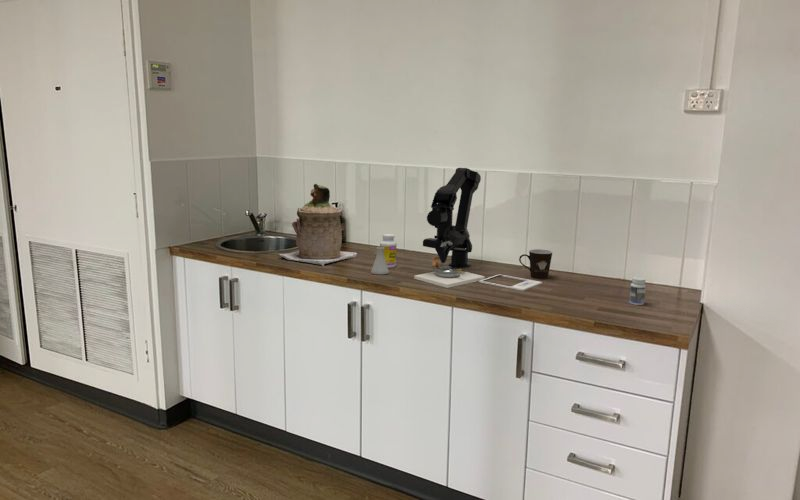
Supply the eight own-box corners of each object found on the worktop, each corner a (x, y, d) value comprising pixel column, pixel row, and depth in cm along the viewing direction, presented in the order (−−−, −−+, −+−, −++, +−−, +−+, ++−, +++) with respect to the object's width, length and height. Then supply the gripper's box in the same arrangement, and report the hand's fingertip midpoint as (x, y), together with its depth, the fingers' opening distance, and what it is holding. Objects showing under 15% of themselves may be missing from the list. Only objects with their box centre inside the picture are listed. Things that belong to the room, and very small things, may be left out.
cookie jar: (359, 256, 267) (359, 182, 260) (322, 267, 246) (322, 186, 240) (315, 250, 279) (314, 179, 273) (277, 259, 259) (275, 182, 253)
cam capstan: (471, 276, 227) (472, 262, 226) (454, 280, 221) (455, 265, 220) (441, 269, 239) (441, 255, 238) (424, 272, 233) (425, 258, 232)
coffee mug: (552, 276, 237) (554, 250, 235) (548, 280, 230) (550, 254, 228) (522, 272, 242) (524, 247, 240) (517, 277, 234) (518, 251, 232)
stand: (451, 271, 242) (451, 265, 242) (484, 279, 230) (484, 273, 229) (414, 278, 229) (414, 272, 229) (447, 287, 217) (447, 281, 216)
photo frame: (523, 288, 215) (479, 280, 226) (522, 292, 215) (478, 283, 226) (542, 281, 226) (499, 273, 237) (542, 284, 226) (499, 276, 237)
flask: (387, 275, 233) (387, 249, 231) (368, 274, 235) (368, 248, 233) (391, 271, 240) (391, 246, 238) (373, 270, 242) (373, 245, 240)
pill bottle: (626, 301, 204) (628, 276, 202) (640, 301, 204) (642, 276, 203) (632, 305, 199) (635, 280, 198) (646, 305, 200) (649, 280, 198)
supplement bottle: (389, 268, 245) (389, 236, 242) (376, 266, 249) (376, 234, 246) (399, 266, 250) (400, 234, 247) (386, 263, 254) (387, 232, 251)
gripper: (445, 227, 222) (444, 270, 225) (476, 222, 235) (474, 262, 238) (422, 224, 229) (421, 265, 232) (453, 219, 243) (452, 258, 246)
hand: (443, 263), depth 237 cm, fingers closed
